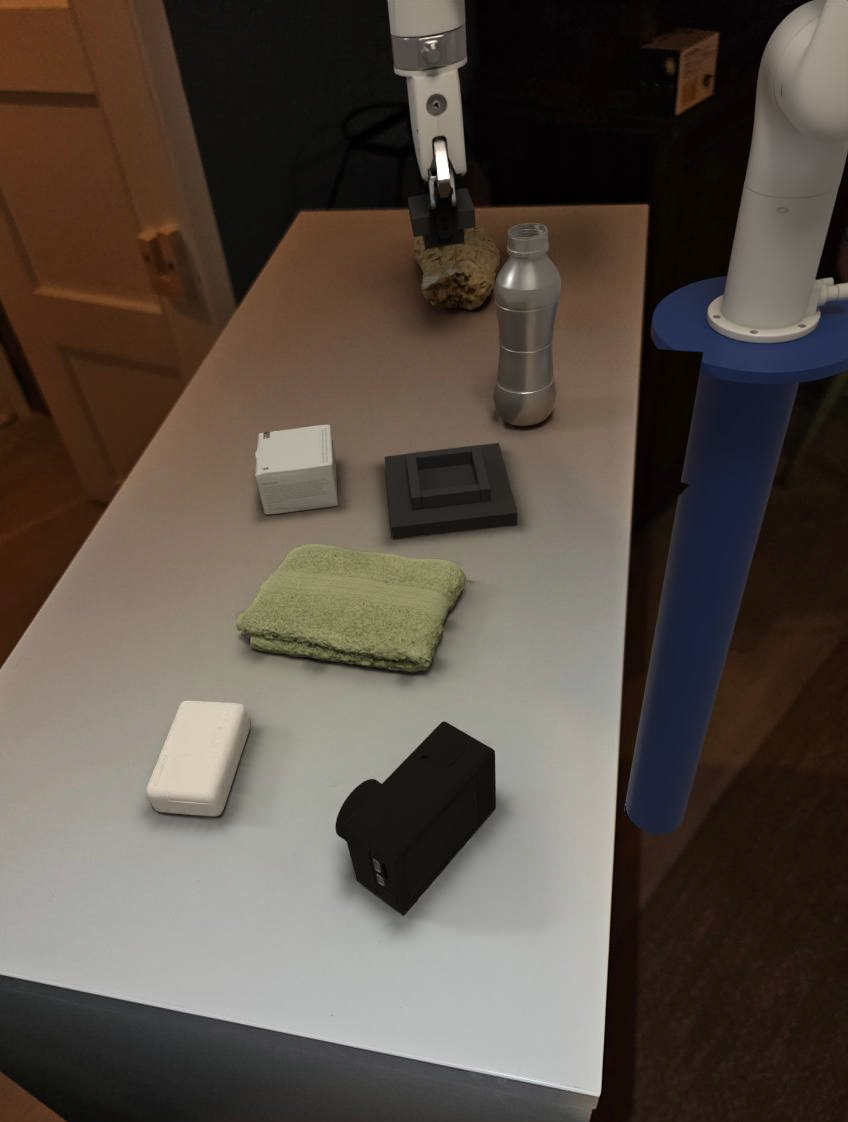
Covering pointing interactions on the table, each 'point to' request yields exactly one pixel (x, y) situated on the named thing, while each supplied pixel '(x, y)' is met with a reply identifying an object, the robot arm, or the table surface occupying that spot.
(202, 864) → the table surface
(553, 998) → the table surface
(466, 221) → the top pad
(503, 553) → the table surface
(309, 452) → the small box
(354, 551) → the washcloth
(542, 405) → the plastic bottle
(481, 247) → the sponge
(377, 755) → the table surface
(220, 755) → the soap
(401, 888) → the digital camera
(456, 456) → the base pad
